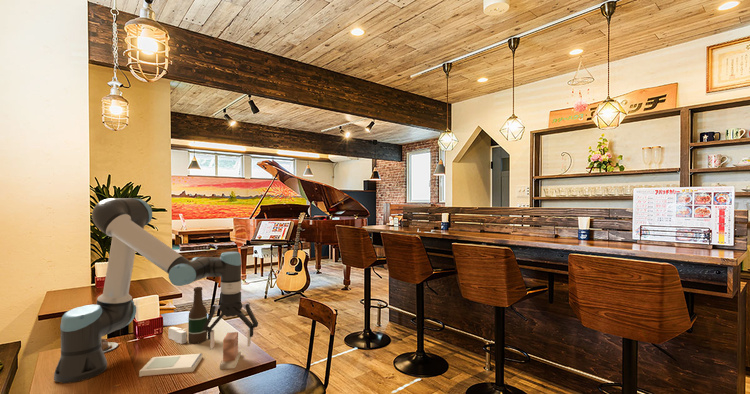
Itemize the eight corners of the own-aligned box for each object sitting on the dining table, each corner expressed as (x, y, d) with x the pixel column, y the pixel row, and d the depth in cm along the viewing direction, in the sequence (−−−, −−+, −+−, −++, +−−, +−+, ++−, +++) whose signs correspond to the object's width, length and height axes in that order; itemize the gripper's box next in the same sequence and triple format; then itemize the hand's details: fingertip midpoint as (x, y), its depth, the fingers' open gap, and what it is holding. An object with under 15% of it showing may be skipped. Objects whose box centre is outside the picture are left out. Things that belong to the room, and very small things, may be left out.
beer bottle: (210, 337, 168) (210, 285, 168) (201, 344, 160) (201, 289, 160) (194, 337, 169) (194, 285, 169) (184, 343, 161) (184, 289, 161)
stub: (219, 369, 136) (219, 342, 136) (226, 355, 148) (226, 331, 148) (235, 368, 137) (235, 341, 137) (240, 354, 149) (240, 330, 149)
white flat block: (139, 376, 131) (139, 370, 131) (152, 362, 143) (152, 356, 143) (193, 372, 134) (193, 366, 134) (202, 358, 146) (202, 353, 146)
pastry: (77, 357, 148) (77, 346, 148) (90, 346, 160) (91, 335, 160) (111, 354, 152) (111, 342, 152) (122, 343, 163) (122, 332, 163)
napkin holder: (164, 338, 169) (164, 325, 169) (192, 334, 174) (192, 322, 174) (159, 350, 155) (159, 336, 155) (189, 346, 160) (189, 333, 160)
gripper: (193, 295, 137) (193, 352, 137) (263, 292, 141) (263, 347, 141) (199, 291, 144) (199, 345, 144) (265, 288, 149) (265, 340, 149)
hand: (230, 346), depth 143 cm, fingers open, 13 cm apart
